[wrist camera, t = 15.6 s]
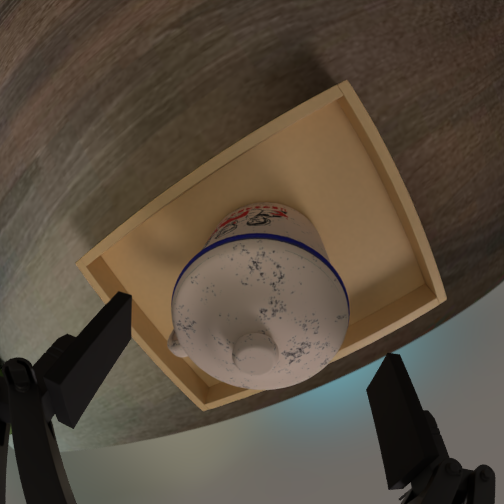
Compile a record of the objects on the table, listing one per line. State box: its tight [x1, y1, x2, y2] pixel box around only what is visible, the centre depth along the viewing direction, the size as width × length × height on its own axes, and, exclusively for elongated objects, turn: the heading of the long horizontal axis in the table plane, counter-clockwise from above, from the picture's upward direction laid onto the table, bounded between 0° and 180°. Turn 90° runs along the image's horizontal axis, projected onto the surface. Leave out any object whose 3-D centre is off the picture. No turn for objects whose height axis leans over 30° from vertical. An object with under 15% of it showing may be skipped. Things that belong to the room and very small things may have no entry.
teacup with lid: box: [167, 202, 350, 390], centre depth 18 cm, size 12×9×12 cm
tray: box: [76, 80, 447, 411], centre depth 23 cm, size 24×18×3 cm
